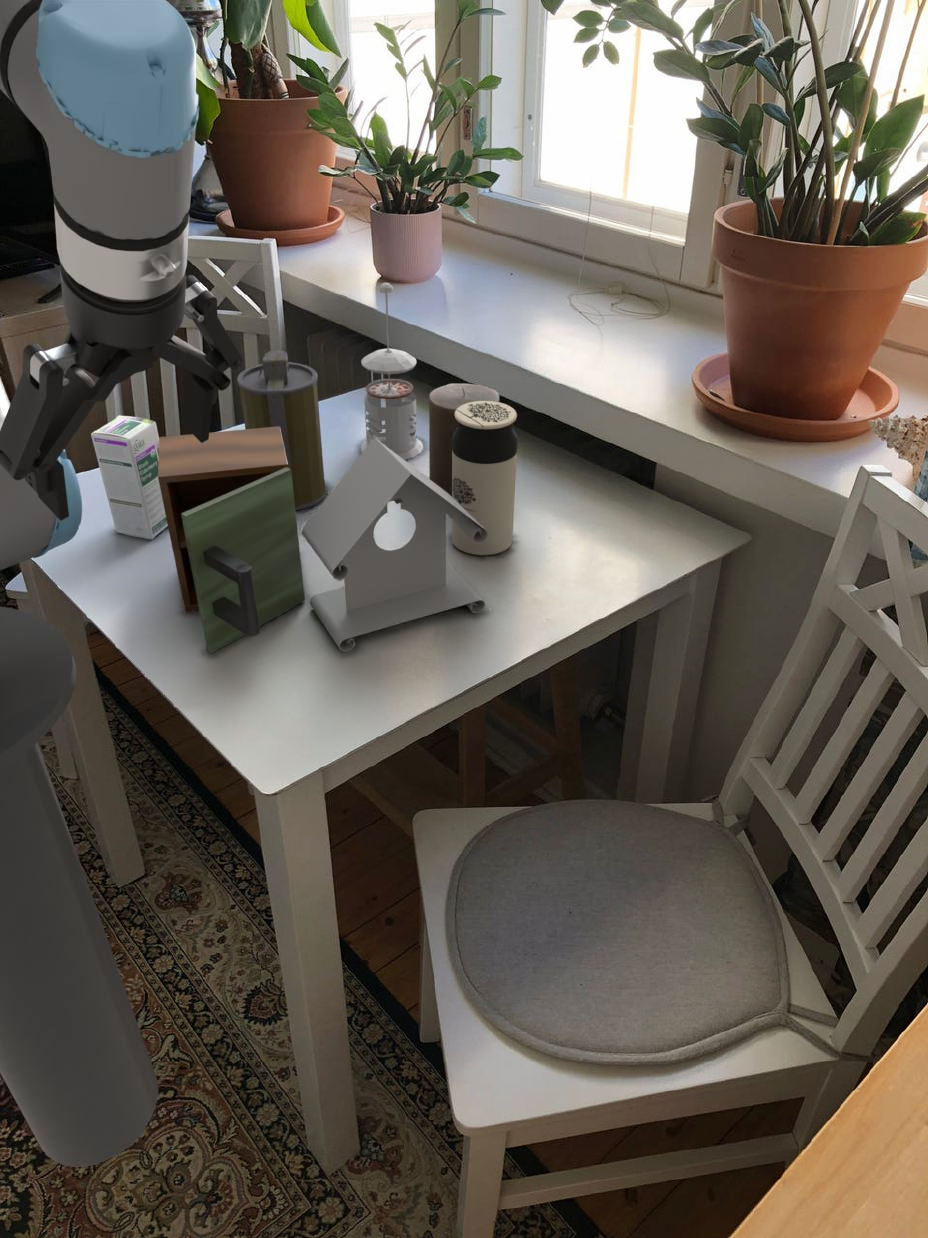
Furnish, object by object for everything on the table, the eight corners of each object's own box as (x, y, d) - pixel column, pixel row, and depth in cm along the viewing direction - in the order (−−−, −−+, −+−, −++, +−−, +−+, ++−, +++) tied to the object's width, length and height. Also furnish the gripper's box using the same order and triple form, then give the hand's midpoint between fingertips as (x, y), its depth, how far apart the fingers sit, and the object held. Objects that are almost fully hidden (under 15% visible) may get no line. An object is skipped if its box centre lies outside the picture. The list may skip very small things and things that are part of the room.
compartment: (302, 597, 111) (288, 464, 100) (185, 612, 108) (157, 476, 98) (294, 553, 119) (279, 426, 108) (184, 566, 116) (159, 436, 105)
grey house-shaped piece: (339, 653, 102) (325, 492, 90) (309, 609, 109) (293, 453, 97) (485, 610, 109) (490, 455, 97) (449, 571, 116) (450, 421, 104)
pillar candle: (450, 508, 129) (451, 406, 120) (417, 479, 135) (415, 381, 127) (509, 491, 133) (514, 392, 124) (474, 464, 139) (476, 368, 131)
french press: (370, 465, 139) (361, 296, 124) (349, 434, 148) (339, 272, 133) (432, 455, 142) (430, 289, 127) (408, 425, 150) (404, 266, 136)
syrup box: (152, 541, 121) (130, 438, 112) (114, 532, 122) (89, 430, 114) (177, 520, 125) (157, 419, 116) (139, 512, 127) (117, 413, 118)
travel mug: (494, 520, 126) (499, 395, 115) (523, 548, 120) (531, 419, 110) (441, 533, 123) (441, 406, 112) (468, 563, 117) (471, 431, 107)
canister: (255, 477, 135) (237, 343, 123) (327, 475, 136) (316, 341, 124) (250, 515, 126) (230, 373, 115) (326, 511, 127) (315, 371, 116)
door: (341, 621, 107) (331, 487, 96) (248, 678, 98) (225, 538, 88) (300, 598, 110) (286, 466, 100) (206, 650, 102) (180, 513, 92)
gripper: (-25, 385, 51) (18, 578, 69) (312, 236, 64) (274, 431, 82) (-108, 295, 52) (-45, 508, 70) (240, 168, 65) (218, 374, 83)
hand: (127, 467), depth 76 cm, fingers open, 13 cm apart
